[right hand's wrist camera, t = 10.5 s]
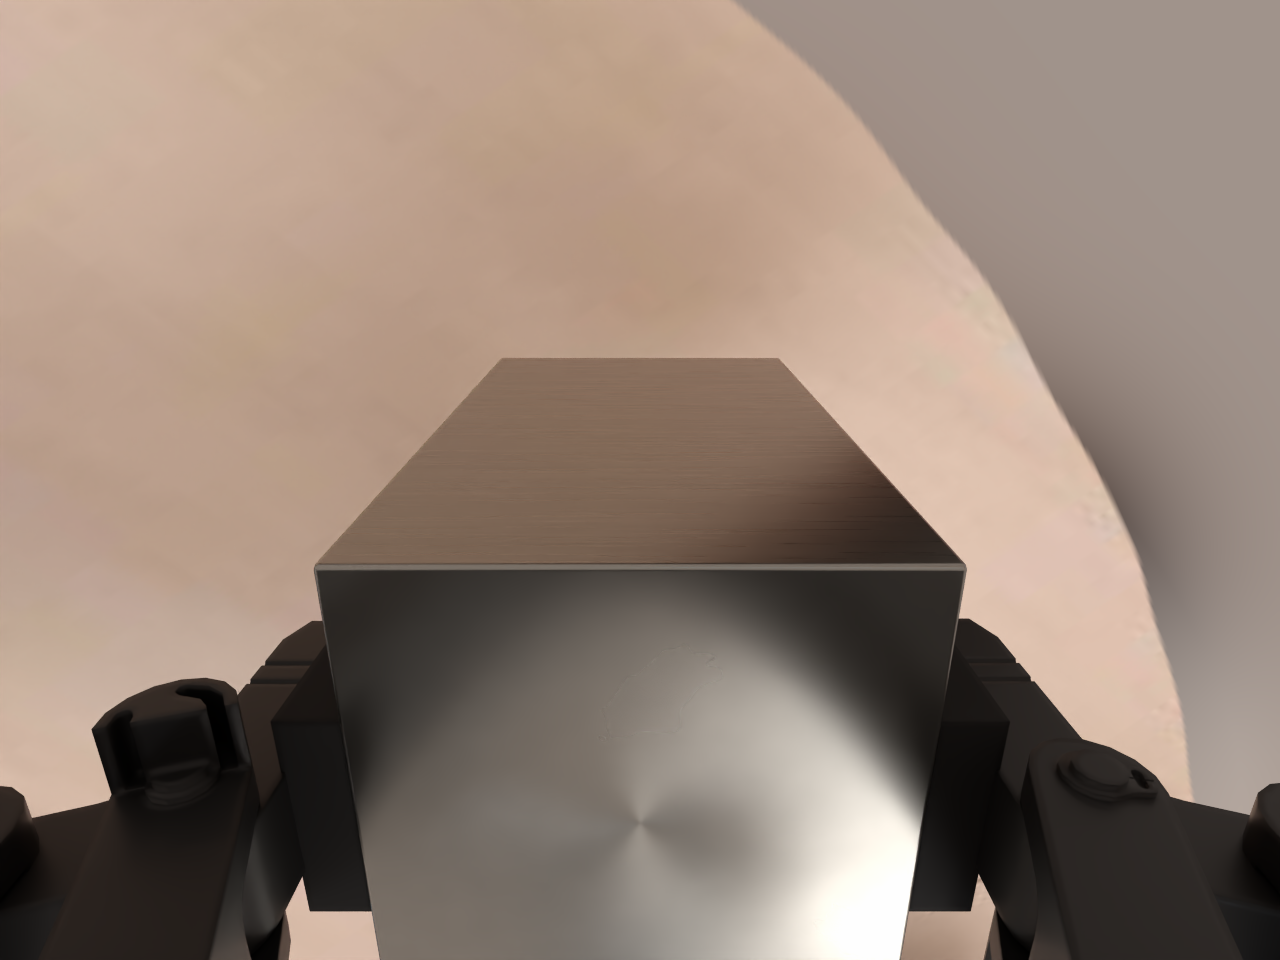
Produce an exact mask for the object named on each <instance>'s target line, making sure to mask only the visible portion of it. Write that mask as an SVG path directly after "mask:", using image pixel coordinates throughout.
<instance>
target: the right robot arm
mask: <svg viewBox="0 0 1280 960" xmlns="http://www.w3.org/2000/svg"><path fill="white" fill-rule="evenodd" d="M1030 678H1031V677H1030V675H1029V674H1028V673H1027V672H1026V671H1025V669H1024V668H1023V667H1022V666H1021V665H1020V663H1016V659H1015V657H1014V656H1013V655H1012V654H1011V653H1010V651H1009V650H1008V649H1007V648H1006V646H1005V645H1004V644H1003V643H1002V642H1001V640H1000V639H999V638H998V637H997V636H995V635H994V634H992V633H990V632H989V631H987V630H986V629H984V628H983V627H981V626H980V625H978V624H976V623H975V622H973V621H972V620H970V619H958V624H957V630H956V636H955V642H954V648H953V654H952V660H951V666H950V671H949V677H948V683H947V689H946V695H945V701H944V707H943V713H942V719H941V724H940V730H939V736H938V742H937V748H936V754H935V760H934V766H933V772H932V778H931V783H930V789H929V795H928V801H927V807H926V813H925V819H924V825H923V831H922V836H921V842H920V848H919V854H918V860H917V866H916V872H915V878H914V884H913V890H912V895H911V901H910V907H909V911H971V907H972V902H973V898H974V893H975V888H976V883H977V878H978V874H979V875H980V877H981V879H982V881H983V883H984V885H985V887H986V889H987V891H988V893H989V895H990V897H991V899H992V901H993V903H994V905H995V911H994V915H993V920H992V924H991V929H990V933H989V938H988V942H987V947H986V951H985V956H984V960H1280V783H1276V784H1269V785H1268V786H1267V787H1265V788H1264V789H1263V790H1261V791H1260V792H1258V794H1257V797H1256V800H1255V802H1254V805H1253V808H1252V811H1251V813H1250V815H1247V814H1242V813H1238V812H1233V811H1228V810H1224V809H1219V808H1215V807H1210V806H1206V805H1201V804H1196V803H1192V802H1187V801H1183V800H1180V799H1176V798H1173V797H1170V796H1169V794H1168V792H1167V791H1166V789H1165V788H1164V787H1163V785H1162V784H1161V783H1160V781H1159V780H1158V778H1157V777H1156V776H1155V775H1154V774H1153V773H1151V772H1150V771H1149V770H1147V769H1146V768H1145V767H1144V766H1142V765H1141V764H1140V763H1138V762H1137V761H1136V760H1134V759H1132V758H1130V757H1128V756H1126V755H1124V754H1122V753H1120V752H1118V751H1116V750H1114V749H1112V748H1110V747H1107V746H1104V745H1100V744H1097V743H1094V742H1090V741H1087V740H1082V738H1081V737H1080V736H1079V735H1078V734H1077V732H1076V731H1075V730H1074V729H1073V727H1072V726H1071V725H1070V724H1069V723H1068V721H1067V720H1066V719H1065V718H1064V717H1063V715H1062V714H1061V713H1060V712H1059V711H1058V709H1057V708H1056V707H1055V706H1054V705H1053V703H1052V702H1051V701H1050V700H1049V698H1048V697H1047V696H1046V695H1045V694H1044V692H1043V691H1042V690H1041V689H1040V688H1039V686H1038V685H1037V684H1036V683H1035V682H1034V681H1031V679H1030ZM92 733H93V736H94V739H95V742H96V746H97V749H98V752H99V755H100V758H101V762H102V765H103V768H104V771H105V775H106V778H107V781H108V784H109V787H110V791H111V794H112V795H111V797H110V799H109V801H105V802H102V803H98V804H94V805H90V806H85V807H81V808H76V809H71V810H67V811H62V812H58V813H53V814H49V815H44V816H40V817H35V818H32V817H31V814H30V812H29V809H28V806H27V803H26V801H25V798H24V796H23V795H22V794H20V793H19V792H18V791H16V790H15V789H14V788H12V787H4V786H0V960H289V952H290V943H291V939H290V932H289V925H288V920H287V915H286V911H285V910H286V908H287V906H288V904H289V902H290V900H291V898H292V896H293V894H294V892H295V890H296V888H297V886H298V884H299V882H300V880H301V878H302V876H303V881H304V886H305V890H306V895H307V900H308V905H309V910H310V911H372V910H371V904H370V898H369V892H368V886H367V880H366V874H365V868H364V862H363V857H362V851H361V845H360V839H359V833H358V827H357V821H356V815H355V809H354V803H353V797H352V792H351V786H350V780H349V774H348V768H347V762H346V756H345V750H344V744H343V738H342V733H341V727H340V721H339V715H338V709H337V703H336V697H335V691H334V685H333V679H332V674H331V668H330V662H329V656H328V650H327V644H326V638H325V632H324V626H323V621H311V622H310V623H308V624H307V625H305V626H303V627H302V628H300V629H299V630H297V631H296V632H294V633H293V634H291V635H290V636H288V637H286V638H285V639H283V640H282V642H281V643H280V644H279V645H278V647H277V648H276V649H275V650H274V651H273V653H272V654H271V655H270V656H269V657H268V659H267V660H266V661H265V666H261V667H260V668H259V670H258V671H257V672H256V673H255V675H254V676H253V677H252V678H251V682H250V684H246V685H245V687H244V688H243V689H242V690H241V692H240V693H239V694H238V695H237V692H236V690H235V689H234V688H233V687H231V686H230V685H229V684H227V683H226V682H225V681H220V680H214V679H209V678H197V679H183V680H178V681H174V682H170V683H166V684H162V685H158V686H154V687H152V688H150V689H147V690H145V691H143V692H140V693H138V694H136V695H134V696H131V697H129V698H127V699H125V700H124V701H123V702H121V703H120V704H118V705H117V706H115V707H114V708H112V709H111V710H109V711H108V712H106V713H105V714H104V715H103V716H102V718H101V719H100V720H99V721H98V722H97V723H96V725H95V726H94V727H93V728H92Z"/></svg>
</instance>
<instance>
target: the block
mask: <svg viewBox="0 0 1280 960" xmlns="http://www.w3.org/2000/svg"><path fill="white" fill-rule="evenodd" d="M966 571H967V568H966V565H965V563H964V562H963V561H962V560H961V559H960V558H959V557H958V556H957V555H956V553H955V552H954V551H953V550H952V549H951V548H950V547H949V546H948V545H947V544H946V542H945V541H944V540H943V539H942V538H941V537H940V536H939V535H938V534H937V533H936V531H935V530H934V529H933V528H932V527H931V526H930V525H929V524H928V523H927V521H926V520H925V519H924V518H923V517H922V516H921V515H920V514H919V513H918V512H917V510H916V509H915V508H914V507H913V506H912V505H911V504H910V503H909V502H908V501H907V499H906V498H905V497H904V496H903V495H902V494H901V493H900V492H899V491H898V489H897V488H896V487H895V486H894V485H893V484H892V483H891V482H890V481H889V480H888V478H887V477H886V476H885V475H884V474H883V473H882V472H881V471H880V470H879V469H878V467H877V466H876V465H875V464H874V463H873V462H872V461H871V460H870V459H869V457H868V456H867V455H866V454H865V453H864V452H863V451H862V450H861V449H860V448H859V446H858V445H857V444H856V443H855V442H854V441H853V440H852V439H851V438H850V436H849V435H848V434H847V433H846V432H845V431H844V430H843V429H842V428H841V427H840V425H839V424H838V423H837V422H836V421H835V420H834V419H833V418H832V417H831V416H830V414H829V413H828V412H827V411H826V410H825V409H824V408H823V407H822V406H821V404H820V403H819V402H818V401H817V400H816V399H815V398H814V397H813V396H812V395H811V393H810V392H809V391H808V390H807V389H806V388H805V387H804V386H803V385H802V384H801V382H800V381H799V380H798V379H797V378H796V377H795V376H794V375H793V374H792V372H791V371H790V370H789V369H788V368H787V367H786V366H785V365H784V364H783V363H782V361H781V360H780V359H778V358H502V359H501V360H500V361H499V362H498V363H497V364H496V365H495V366H494V367H493V368H492V369H491V371H490V372H489V373H488V374H487V375H486V376H485V377H484V378H483V379H482V381H481V382H480V383H479V384H478V385H477V386H476V387H475V388H474V389H473V390H472V392H471V393H470V394H469V395H468V396H467V397H466V398H465V399H464V400H463V402H462V403H461V404H460V405H459V406H458V407H457V408H456V409H455V410H454V412H453V413H452V414H451V415H450V416H449V417H448V418H447V419H446V420H445V421H444V423H443V424H442V425H441V426H440V427H439V428H438V429H437V430H436V431H435V433H434V434H433V435H432V436H431V437H430V438H429V439H428V440H427V441H426V442H425V444H424V445H423V446H422V447H421V448H420V449H419V450H418V451H417V452H416V454H415V455H414V456H413V457H412V458H411V459H410V460H409V461H408V462H407V464H406V465H405V466H404V467H403V468H402V469H401V470H400V471H399V472H398V473H397V475H396V476H395V477H394V478H393V479H392V480H391V481H390V482H389V483H388V485H387V486H386V487H385V488H384V489H383V490H382V491H381V492H380V493H379V495H378V496H377V497H376V498H375V499H374V500H373V501H372V502H371V503H370V504H369V506H368V507H367V508H366V509H365V510H364V511H363V512H362V513H361V514H360V516H359V517H358V518H357V519H356V520H355V521H354V522H353V523H352V524H351V525H350V527H349V528H348V529H347V530H346V531H345V532H344V533H343V534H342V535H341V537H340V538H339V539H338V540H337V541H336V542H335V543H334V544H333V545H332V547H331V548H330V549H329V550H328V551H327V552H326V553H325V554H324V555H323V556H322V558H321V559H320V560H319V561H318V562H317V563H316V564H315V567H314V573H315V579H316V585H317V591H318V597H319V603H320V609H321V615H322V620H323V626H324V632H325V638H326V644H327V650H328V656H329V662H330V668H331V674H332V679H333V685H334V691H335V697H336V703H337V709H338V715H339V721H340V727H341V733H342V738H343V744H344V750H345V756H346V762H347V768H348V774H349V780H350V786H351V792H352V797H353V803H354V809H355V815H356V821H357V827H358V833H359V839H360V845H361V851H362V857H363V862H364V868H365V874H366V880H367V886H368V892H369V898H370V904H371V910H372V916H373V921H374V927H375V933H376V939H377V945H378V951H379V957H380V960H901V954H902V948H903V943H904V937H905V931H906V925H907V919H908V913H909V907H910V901H911V895H912V890H913V884H914V878H915V872H916V866H917V860H918V854H919V848H920V842H921V836H922V831H923V825H924V819H925V813H926V807H927V801H928V795H929V789H930V783H931V778H932V772H933V766H934V760H935V754H936V748H937V742H938V736H939V730H940V724H941V719H942V713H943V707H944V701H945V695H946V689H947V683H948V677H949V671H950V666H951V660H952V654H953V648H954V642H955V636H956V630H957V624H958V618H959V613H960V607H961V601H962V595H963V589H964V583H965V577H966Z"/></svg>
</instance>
